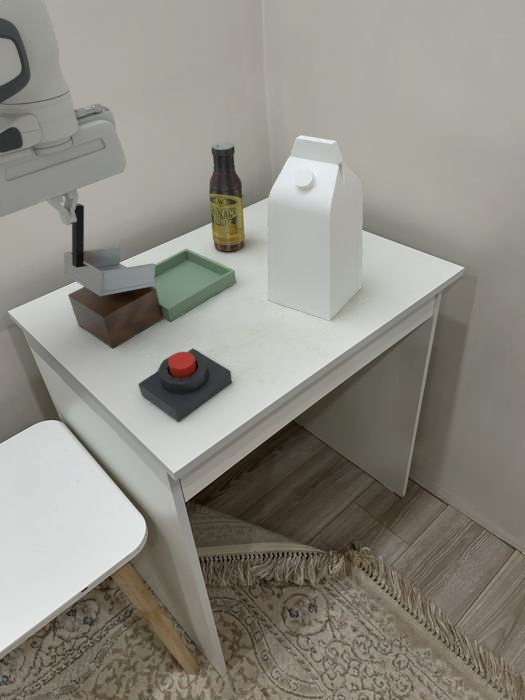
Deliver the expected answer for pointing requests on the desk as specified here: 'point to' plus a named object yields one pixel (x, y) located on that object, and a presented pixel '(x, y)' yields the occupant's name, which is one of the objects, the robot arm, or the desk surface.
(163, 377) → the grey button base
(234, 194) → the sauce bottle
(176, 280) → the tray
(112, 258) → the grey dustpan
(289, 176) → the milk
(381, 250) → the desk surface
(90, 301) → the stand
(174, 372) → the bell button
